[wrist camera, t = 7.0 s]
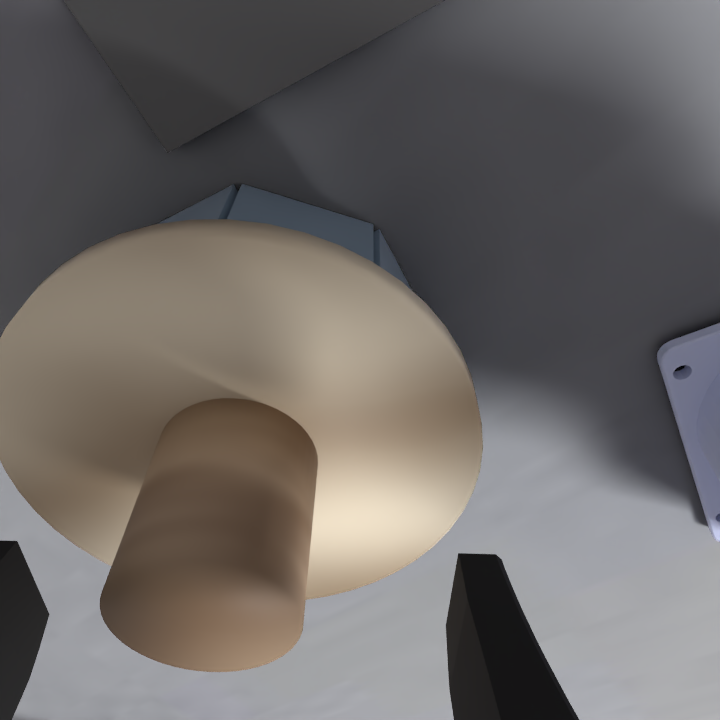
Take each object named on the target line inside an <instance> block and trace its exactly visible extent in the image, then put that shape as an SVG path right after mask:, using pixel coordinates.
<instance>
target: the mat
mask: <svg viewBox="0 0 720 720" xmlns="http://www.w3.org/2000/svg"><path fill="white" fill-rule="evenodd" d="M63 1H64V2H65V4H66V5H67V7H68V8H69V10H70V11H71V13H72V14H73V16H74V17H75V19H76V20H77V21H78V23H79V24H80V26H81V27H82V29H83V30H84V32H85V33H86V35H87V36H88V37H89V39H90V40H91V42H92V43H93V45H94V46H95V48H96V49H97V51H98V52H99V54H100V55H101V56H102V58H103V59H104V61H105V62H106V64H107V65H108V67H109V68H110V70H111V71H112V73H113V74H114V75H115V77H116V78H117V80H118V81H119V83H120V84H121V86H122V87H123V89H124V90H125V92H126V93H127V94H128V96H129V97H130V99H131V100H132V102H133V103H134V105H135V106H136V108H137V109H138V111H139V112H140V113H141V115H142V116H143V118H144V119H145V121H146V122H147V124H148V125H149V127H150V128H151V130H152V131H153V132H154V134H155V135H156V137H157V138H158V140H159V141H160V143H161V144H162V146H163V147H164V148H165V150H166V151H167V153H169V152H170V151H172V150H174V149H176V148H178V147H179V146H181V145H183V144H185V143H187V142H189V141H190V140H192V139H194V138H196V137H198V136H199V135H201V134H203V133H205V132H207V131H208V130H210V129H212V128H214V127H216V126H218V125H219V124H221V123H223V122H225V121H227V120H228V119H230V118H232V117H234V116H236V115H238V114H239V113H241V112H243V111H245V110H247V109H248V108H250V107H252V106H254V105H256V104H258V103H259V102H261V101H263V100H265V99H267V98H268V97H270V96H272V95H274V94H276V93H278V92H279V91H281V90H283V89H285V88H287V87H288V86H290V85H292V84H294V83H296V82H298V81H299V80H301V79H303V78H305V77H307V76H308V75H310V74H312V73H314V72H316V71H318V70H319V69H321V68H323V67H325V66H327V65H328V64H330V63H332V62H334V61H336V60H338V59H339V58H341V57H343V56H345V55H347V54H348V53H350V52H352V51H354V50H356V49H357V48H359V47H361V46H363V45H365V44H367V43H368V42H370V41H372V40H374V39H376V38H377V37H379V36H381V35H383V34H385V33H387V32H388V31H390V30H392V29H394V28H396V27H397V26H399V25H401V24H403V23H405V22H407V21H408V20H410V19H412V18H414V17H416V16H417V15H419V14H421V13H423V12H425V11H427V10H428V9H430V8H432V7H434V6H436V5H437V4H439V3H441V2H443V1H445V0H63Z"/></svg>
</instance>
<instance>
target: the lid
mask: <svg viewBox="0 0 720 720" xmlns="http://www.w3.org/2000/svg"><path fill="white" fill-rule="evenodd" d="M482 451H483V440H482V423H481V418H480V413H479V408H478V403H477V398H476V394H475V389H474V385H473V381H472V377H471V374H470V371H469V369H468V367H467V364H466V362H465V359H464V357H463V355H462V352H461V350H460V349H459V347H458V345H457V344H456V342H455V341H454V339H453V337H452V336H451V334H450V333H449V331H448V329H447V328H446V326H445V325H444V324H443V323H442V321H441V320H440V319H439V318H438V317H437V316H436V314H435V313H434V312H433V311H432V310H431V309H430V307H429V306H428V305H427V304H426V303H425V302H424V301H423V300H422V299H421V298H420V297H418V296H417V295H416V294H415V293H414V292H413V291H412V290H411V289H409V288H408V287H407V286H406V285H405V284H404V283H403V282H402V281H400V280H399V279H397V278H396V277H394V276H393V275H391V274H390V273H388V272H387V271H385V270H384V269H382V268H381V267H379V266H378V265H376V264H375V263H373V262H372V261H370V260H368V259H366V258H364V257H362V256H360V255H358V254H356V253H354V252H352V251H350V250H348V249H346V248H344V247H342V246H340V245H338V244H335V243H332V242H329V241H327V240H324V239H321V238H318V237H316V236H313V235H310V234H307V233H305V232H301V231H296V230H292V229H288V228H284V227H279V226H275V225H271V224H266V223H257V222H248V221H239V220H231V219H204V220H184V221H177V222H169V223H162V224H154V225H151V226H147V227H143V228H139V229H136V230H132V231H128V232H125V233H121V234H118V235H116V236H114V237H111V238H109V239H107V240H104V241H102V242H100V243H98V244H95V245H93V246H91V247H89V248H87V249H85V250H84V251H82V252H81V253H79V254H77V255H76V256H74V257H73V258H71V259H69V260H68V261H66V262H65V263H63V264H62V265H61V266H60V267H58V268H57V269H56V270H55V271H54V272H53V273H52V274H51V275H49V276H48V277H47V278H46V279H45V280H44V281H43V282H42V283H40V285H39V286H38V287H37V288H36V290H35V291H34V292H33V293H32V295H31V296H30V297H29V298H28V300H27V301H26V302H25V303H24V305H23V306H22V307H21V308H20V310H19V311H18V312H17V313H16V315H15V316H14V317H13V319H12V320H11V321H10V322H9V324H8V325H7V326H6V328H5V330H4V332H3V334H2V336H1V338H0V460H1V463H2V465H3V467H4V469H5V471H6V473H7V474H8V476H9V477H10V479H11V480H12V482H13V483H14V485H15V486H16V488H17V489H18V491H19V492H20V493H21V495H22V496H23V497H24V498H25V499H26V501H27V502H28V503H29V504H30V505H31V506H32V508H33V509H34V510H35V511H36V512H37V513H38V514H39V515H40V516H41V517H42V518H43V519H44V520H45V521H46V522H47V523H49V524H50V525H51V526H52V527H53V528H54V529H55V530H56V531H58V532H59V533H60V534H62V535H63V536H64V537H65V538H67V539H68V540H69V541H71V542H72V543H73V544H75V545H76V546H78V547H79V548H81V549H82V550H84V551H86V552H87V553H89V554H90V555H92V556H94V557H95V558H97V559H98V560H100V561H102V562H104V563H106V564H108V565H110V566H112V567H111V569H110V572H109V575H108V577H107V580H106V583H105V585H104V588H103V591H102V594H101V597H100V610H101V615H102V617H103V620H104V622H105V624H106V625H107V627H108V628H109V630H110V631H111V632H112V633H113V634H114V635H115V636H116V637H117V638H118V639H119V640H120V641H121V642H123V643H124V644H125V645H127V646H128V647H130V648H131V649H133V650H134V651H136V652H138V653H140V654H141V655H144V656H146V657H148V658H150V659H153V660H155V661H158V662H161V663H164V664H167V665H171V666H174V667H179V668H183V669H189V670H196V671H206V672H229V671H239V670H246V669H251V668H255V667H259V666H262V665H265V664H268V663H270V662H272V661H274V660H276V659H278V658H280V657H282V656H283V655H285V654H286V653H287V652H288V651H290V650H291V649H292V648H293V647H294V645H295V644H296V643H297V641H298V640H299V638H300V636H301V633H302V630H303V621H304V610H305V600H307V599H313V598H320V597H326V596H330V595H334V594H338V593H342V592H346V591H350V590H353V589H356V588H359V587H362V586H365V585H368V584H371V583H374V582H376V581H378V580H380V579H382V578H384V577H387V576H389V575H391V574H393V573H395V572H397V571H399V570H400V569H402V568H404V567H405V566H407V565H409V564H410V563H412V562H414V561H415V560H417V559H418V558H419V557H420V556H422V555H423V554H424V553H426V552H427V551H428V550H429V549H431V548H432V547H433V546H434V545H435V544H436V543H437V542H438V541H439V540H440V539H441V538H442V537H443V536H444V535H445V534H446V533H447V532H448V531H449V530H450V529H451V527H452V526H453V525H454V523H455V522H456V521H457V519H458V518H459V517H460V515H461V514H462V512H463V511H464V509H465V507H466V505H467V503H468V501H469V499H470V497H471V495H472V493H473V491H474V488H475V485H476V481H477V478H478V475H479V472H480V466H481V458H482Z"/></svg>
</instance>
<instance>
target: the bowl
mask: <svg viewBox="0 0 720 720" xmlns="http://www.w3.org/2000/svg"><path fill="white" fill-rule="evenodd" d="M204 219H231V220H239V221H248V222H257V223H266V224H271V225H275V226H279V227H284V228H288V229H292V230H296V231H301V232H305V233H307V234H310V235H313V236H316V237H318V238H321V239H324V240H327V241H329V242H332V243H335V244H338V245H340V246H342V247H344V248H346V249H348V250H350V251H352V252H354V253H356V254H358V255H360V256H362V257H364V258H366V259H368V260H370V261H372V262H373V263H375V264H376V265H378V266H379V267H381V268H382V269H384V270H385V271H387V272H388V273H390V274H391V275H393V276H394V277H396V278H397V279H399V280H400V281H402V282H403V283H404V284H405V285H406V286H407V287H408V288H409V289H411V287H410V285H409V284H408V282H407V280H406V278H405V276H404V274H403V272H402V270H401V269H400V267H399V265H398V263H397V261H396V259H395V257H394V255H393V254H392V252H391V250H390V248H389V246H388V244H387V242H386V240H385V238H384V237H383V235H382V233H381V231H380V229H378V230H376V231H374V232H373V224H371V223H368V222H365V221H361V220H358V219H355V218H352V217H348V216H345V215H342V214H339V213H336V212H332V211H329V210H326V209H323V208H319V207H316V206H313V205H310V204H306V203H303V202H300V201H297V200H293V199H290V198H287V197H284V196H280V195H277V194H274V193H271V192H267V191H264V190H261V189H258V188H254V187H251V186H248V185H245V184H241V187H240V189H239V192H238V190H237V189H236V187H235V186H234V184H233V185H231V186H229V187H227V188H225V189H223V190H221V191H219V192H218V193H216V194H214V195H212V196H210V197H208V198H206V199H204V200H202V201H200V202H198V203H196V204H194V205H192V206H190V207H188V208H187V209H185V210H183V211H181V212H179V213H177V214H175V215H173V216H171V217H169V218H167V219H165V220H163V221H161V222H159V223H158V224H162V223H169V222H177V221H184V220H204ZM411 290H412V289H411Z"/></svg>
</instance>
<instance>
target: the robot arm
mask: <svg viewBox="0 0 720 720" xmlns="http://www.w3.org/2000/svg"><path fill="white" fill-rule="evenodd" d="M657 360H658V364H659V367H660V370H661V373H662V377H663V380H664V383H665V386H666V390H667V393H668V396H669V400H670V403H671V406H672V409H673V413H674V416H675V419H676V422H677V426H678V429H679V432H680V435H681V439H682V442H683V445H684V448H685V452H686V455H687V458H688V461H689V465H690V468H691V471H692V474H693V478H694V481H695V484H696V487H697V491H698V494H699V497H700V500H701V504H702V507H703V510H704V513H705V517H706V520H707V523H708V527H709V530H710V532H711V534H712V536H713V537H714V539H715V540H717V541H719V542H720V323H718V324H715V325H712V326H710V327H707V328H704V329H701V330H698V331H696V332H693V333H690V334H687V335H684V336H682V337H679V338H676V339H673V340H671V341H669V342H667V343H665V344H664V345H663V346H662V347H661V348H660V349H659V351H658V353H657ZM683 365H686V366H685V367H684V369H682V370H680V371H675V369H676V368H678V367H680V366H683ZM674 371H675V372H674ZM48 617H49V613H48V610H47V608H46V606H45V603H44V601H43V599H42V597H41V594H40V592H39V590H38V588H37V585H36V583H35V581H34V578H33V576H32V574H31V572H30V569H29V567H28V565H27V562H26V560H25V558H24V556H23V553H22V551H21V549H20V547H19V544H18V542H17V541H0V720H12V718H13V715H14V713H15V711H16V709H17V706H18V704H19V702H20V699H21V697H22V695H23V692H24V690H25V688H26V685H27V683H28V681H29V678H30V675H31V672H32V669H33V666H34V663H35V660H36V657H37V654H38V651H39V648H40V644H41V641H42V637H43V634H44V630H45V627H46V624H47V620H48ZM446 635H447V654H448V671H449V687H450V695H451V702H452V709H453V716H454V720H579V719H578V717H577V715H576V713H575V712H574V710H573V708H572V706H571V704H570V703H569V701H568V699H567V697H566V695H565V694H564V692H563V690H562V688H561V686H560V684H559V682H558V680H557V679H556V677H555V675H554V673H553V671H552V669H551V667H550V665H549V664H548V662H547V660H546V658H545V656H544V654H543V652H542V650H541V648H540V646H539V644H538V642H537V640H536V638H535V636H534V634H533V632H532V630H531V627H530V625H529V623H528V621H527V619H526V617H525V615H524V613H523V610H522V608H521V606H520V604H519V602H518V599H517V597H516V595H515V592H514V590H513V588H512V585H511V583H510V580H509V578H508V575H507V573H506V570H505V568H504V565H503V562H502V560H501V559H500V558H499V557H498V556H497V555H495V554H459V553H458V559H457V564H456V570H455V576H454V582H453V588H452V593H451V599H450V605H449V611H448V617H447V623H446Z"/></svg>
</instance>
